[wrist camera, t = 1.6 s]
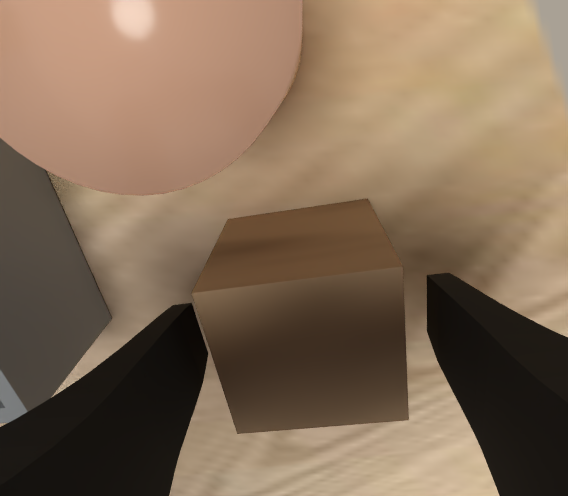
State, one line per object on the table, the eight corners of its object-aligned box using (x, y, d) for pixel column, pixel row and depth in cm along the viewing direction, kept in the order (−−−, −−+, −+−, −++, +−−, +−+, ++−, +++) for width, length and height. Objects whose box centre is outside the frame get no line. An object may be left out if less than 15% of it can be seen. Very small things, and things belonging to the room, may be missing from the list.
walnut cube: (376, 314, 15) (408, 420, 10) (255, 328, 15) (237, 433, 11) (367, 197, 13) (403, 266, 8) (228, 218, 13) (191, 293, 9)
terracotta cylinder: (313, 116, 12) (325, 167, 5) (163, 142, 12) (14, 216, 6) (287, -85, 10) (257, -388, 3) (108, -43, 10) (-214, -232, 4)
